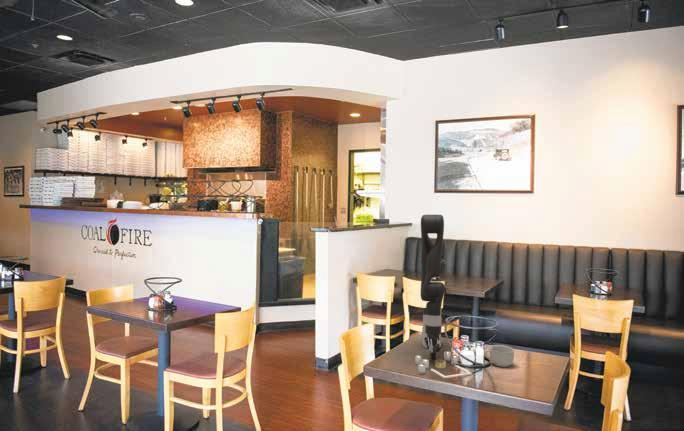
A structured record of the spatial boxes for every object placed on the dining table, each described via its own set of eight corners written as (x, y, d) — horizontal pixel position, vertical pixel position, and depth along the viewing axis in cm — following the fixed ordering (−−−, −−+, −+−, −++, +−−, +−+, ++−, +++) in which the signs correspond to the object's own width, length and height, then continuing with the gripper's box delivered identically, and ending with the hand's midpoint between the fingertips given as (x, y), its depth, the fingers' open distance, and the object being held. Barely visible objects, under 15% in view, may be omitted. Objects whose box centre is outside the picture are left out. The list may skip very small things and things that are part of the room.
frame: (430, 370, 220) (430, 368, 220) (457, 366, 225) (457, 365, 225) (444, 378, 209) (444, 377, 209) (471, 374, 215) (472, 373, 215)
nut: (432, 366, 225) (432, 361, 225) (437, 364, 229) (437, 358, 229) (443, 369, 222) (443, 363, 222) (448, 366, 225) (448, 361, 225)
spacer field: (404, 364, 227) (404, 356, 227) (455, 358, 237) (455, 350, 237) (420, 374, 214) (420, 366, 214) (473, 367, 224) (473, 358, 224)
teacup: (510, 361, 233) (511, 345, 232) (516, 369, 222) (517, 352, 222) (481, 360, 234) (481, 344, 234) (485, 368, 223) (485, 351, 223)
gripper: (448, 326, 226) (447, 363, 226) (432, 319, 238) (432, 354, 238) (434, 327, 223) (433, 365, 223) (419, 321, 235) (418, 356, 236)
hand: (432, 359), depth 231 cm, fingers closed
